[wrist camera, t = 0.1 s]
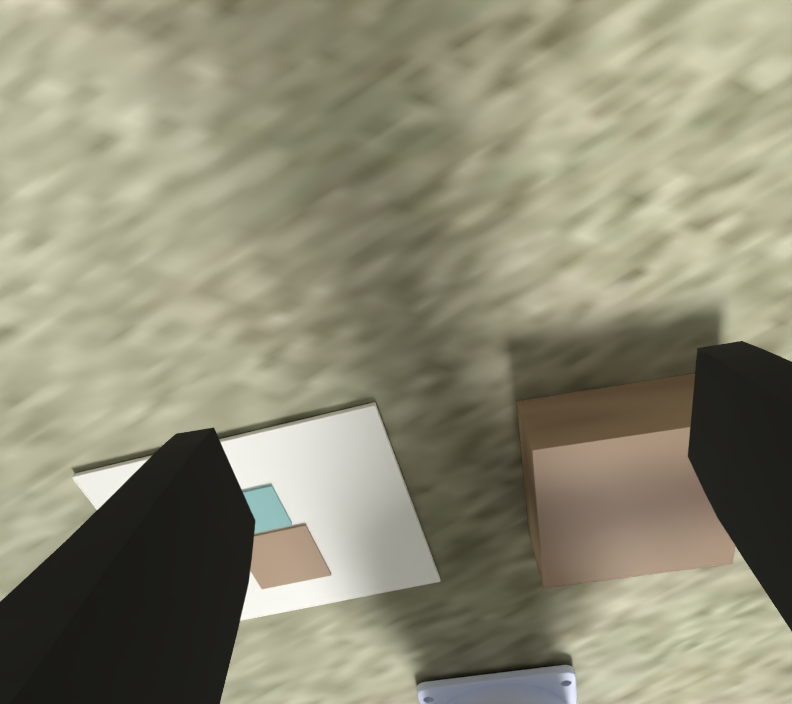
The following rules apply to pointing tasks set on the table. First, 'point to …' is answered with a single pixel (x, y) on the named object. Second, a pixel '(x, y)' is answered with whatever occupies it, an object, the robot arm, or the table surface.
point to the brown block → (616, 484)
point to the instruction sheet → (315, 511)
